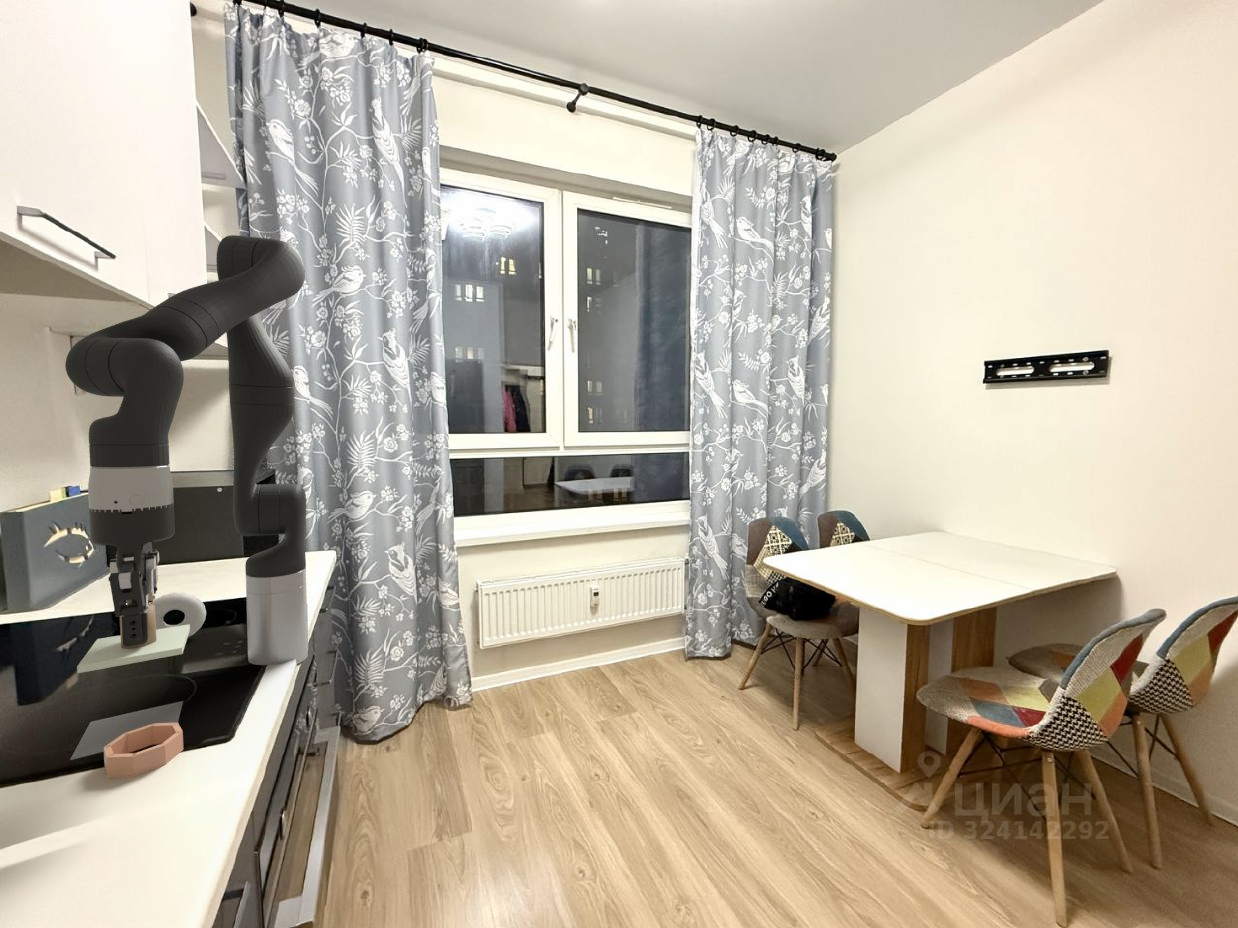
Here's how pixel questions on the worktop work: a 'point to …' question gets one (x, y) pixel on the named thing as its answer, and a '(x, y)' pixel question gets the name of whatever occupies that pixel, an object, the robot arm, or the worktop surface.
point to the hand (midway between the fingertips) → (138, 638)
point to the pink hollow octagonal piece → (134, 764)
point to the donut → (186, 604)
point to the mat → (123, 727)
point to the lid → (135, 647)
